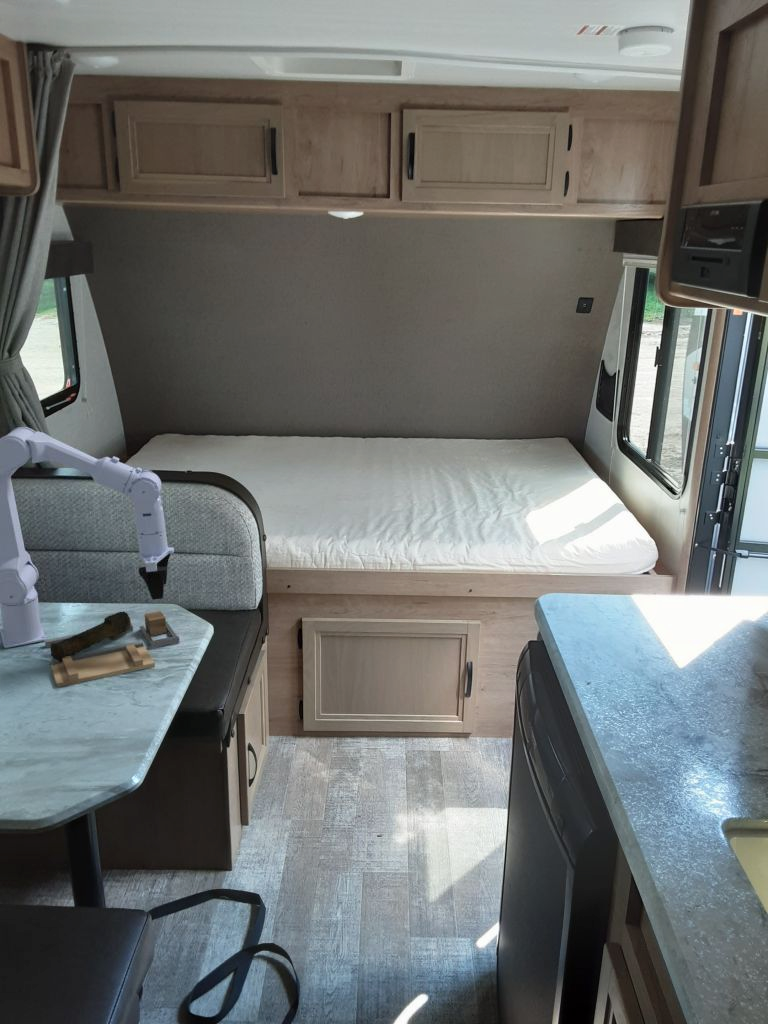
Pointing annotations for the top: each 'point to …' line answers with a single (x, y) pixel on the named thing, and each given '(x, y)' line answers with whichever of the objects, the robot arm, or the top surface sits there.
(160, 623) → the key block
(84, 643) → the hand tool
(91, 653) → the socket channel
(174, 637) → the key guide
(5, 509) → the robot arm
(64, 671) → the rack
